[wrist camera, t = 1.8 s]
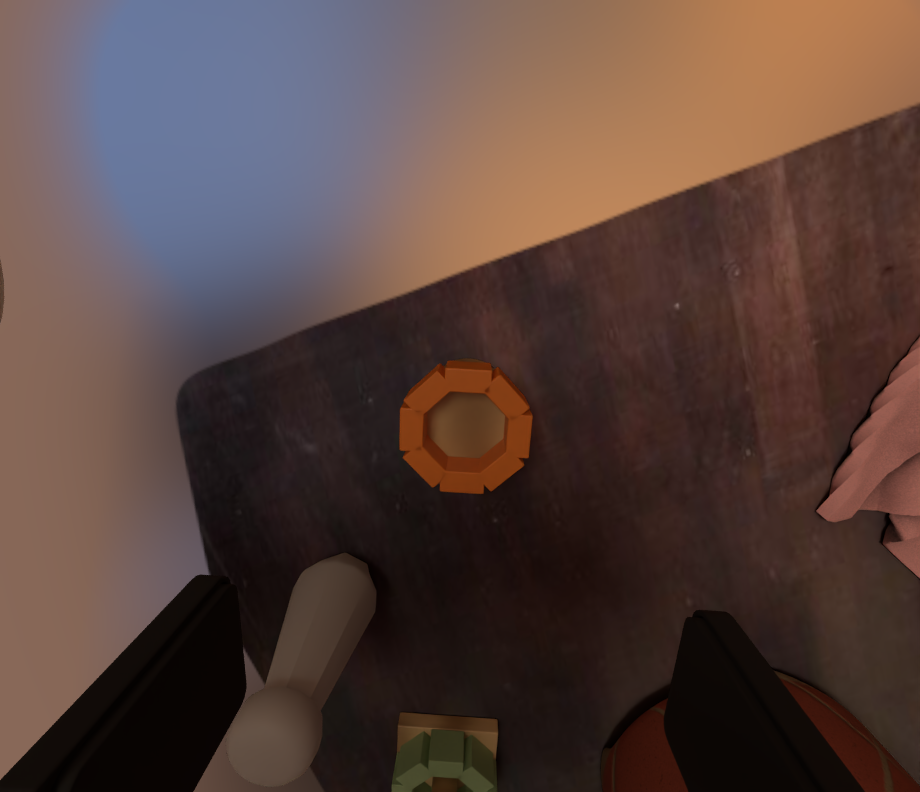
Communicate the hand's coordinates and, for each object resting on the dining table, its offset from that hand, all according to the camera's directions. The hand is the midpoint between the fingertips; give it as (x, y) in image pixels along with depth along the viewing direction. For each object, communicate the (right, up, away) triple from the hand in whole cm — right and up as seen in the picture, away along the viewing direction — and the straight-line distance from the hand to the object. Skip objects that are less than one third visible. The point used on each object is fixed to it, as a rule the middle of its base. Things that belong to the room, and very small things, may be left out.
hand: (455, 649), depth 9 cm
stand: (+1, +5, +20) cm, 20 cm away
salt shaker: (-8, -8, +24) cm, 26 cm away
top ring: (0, +4, +15) cm, 15 cm away
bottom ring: (-1, -25, +26) cm, 36 cm away
